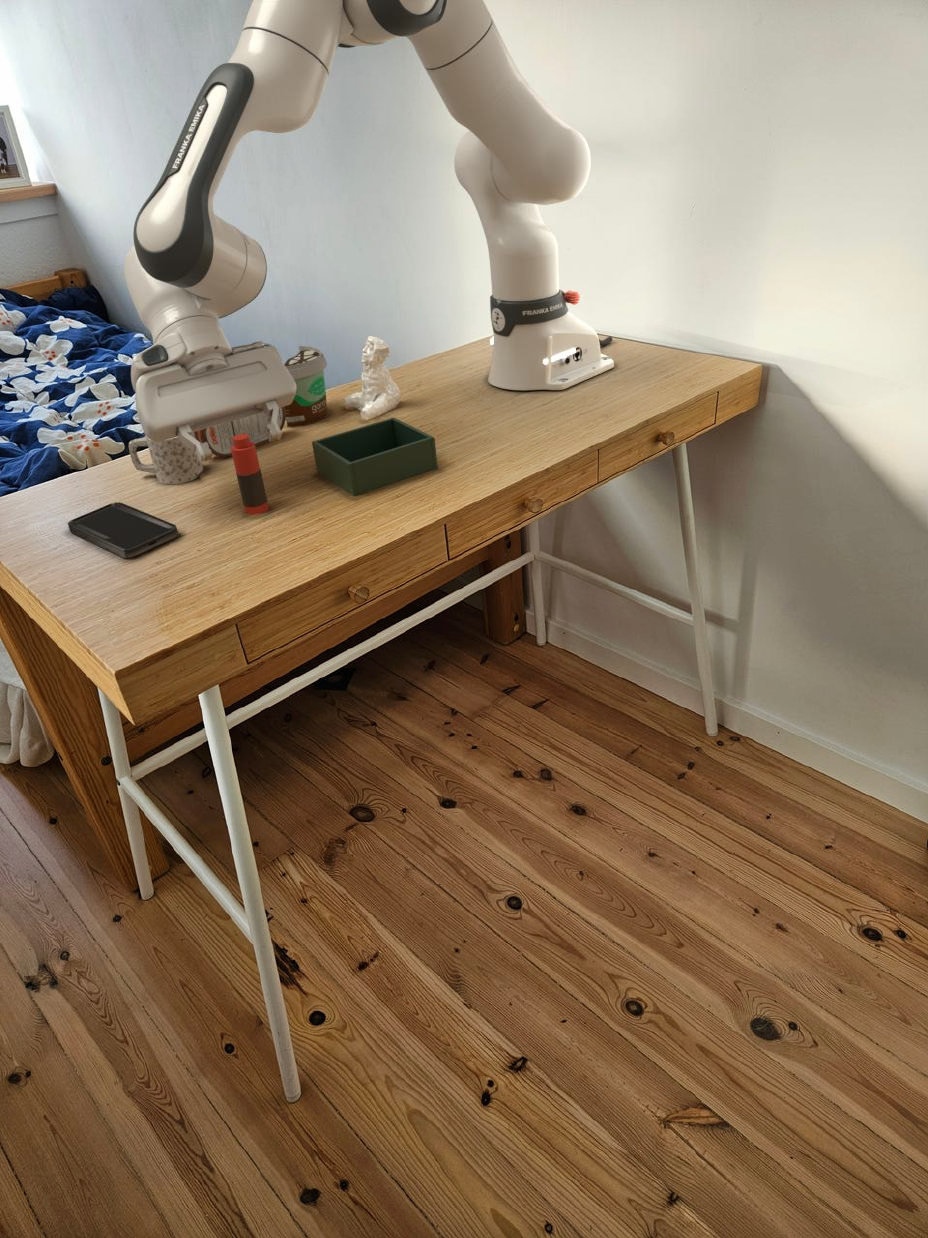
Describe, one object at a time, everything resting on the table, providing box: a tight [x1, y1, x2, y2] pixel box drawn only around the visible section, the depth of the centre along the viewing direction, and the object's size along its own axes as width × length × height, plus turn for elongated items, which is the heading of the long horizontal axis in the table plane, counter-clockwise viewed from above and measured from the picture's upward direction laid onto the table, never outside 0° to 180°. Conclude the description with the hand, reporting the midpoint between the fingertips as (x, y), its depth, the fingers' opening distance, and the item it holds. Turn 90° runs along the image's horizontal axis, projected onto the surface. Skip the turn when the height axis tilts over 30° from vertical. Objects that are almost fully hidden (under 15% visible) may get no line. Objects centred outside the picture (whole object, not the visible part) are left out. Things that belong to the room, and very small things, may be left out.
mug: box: [128, 432, 204, 485], centre depth 129 cm, size 10×7×7 cm, turn 86°
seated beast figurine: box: [344, 335, 402, 421], centre depth 145 cm, size 10×9×12 cm
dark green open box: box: [311, 416, 439, 497], centre depth 124 cm, size 13×11×5 cm
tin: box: [194, 406, 286, 458], centre depth 136 cm, size 15×3×8 cm, turn 134°
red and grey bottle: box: [231, 434, 269, 516], centre depth 115 cm, size 3×3×10 cm
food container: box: [283, 345, 328, 428], centre depth 145 cm, size 12×6×10 cm, turn 168°
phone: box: [67, 501, 180, 559], centre depth 115 cm, size 8×1×15 cm
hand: (242, 448), depth 114 cm, fingers open, 8 cm apart
